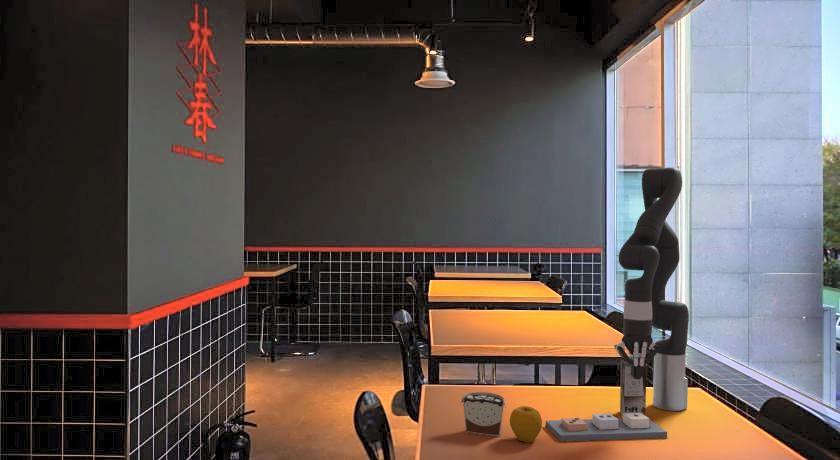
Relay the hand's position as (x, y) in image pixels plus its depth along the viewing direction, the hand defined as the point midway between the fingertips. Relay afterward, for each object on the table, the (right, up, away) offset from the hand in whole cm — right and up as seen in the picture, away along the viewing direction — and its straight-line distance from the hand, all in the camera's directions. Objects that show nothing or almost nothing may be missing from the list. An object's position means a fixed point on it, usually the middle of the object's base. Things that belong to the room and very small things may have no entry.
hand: (636, 378), depth 173 cm
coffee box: (+3, -15, +13) cm, 20 cm away
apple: (-32, -15, -8) cm, 36 cm away
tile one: (0, -13, 0) cm, 13 cm away
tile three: (-18, -14, -2) cm, 23 cm away
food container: (-42, -14, -1) cm, 45 cm away
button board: (-9, -15, -1) cm, 17 cm away
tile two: (-9, -13, -1) cm, 16 cm away
